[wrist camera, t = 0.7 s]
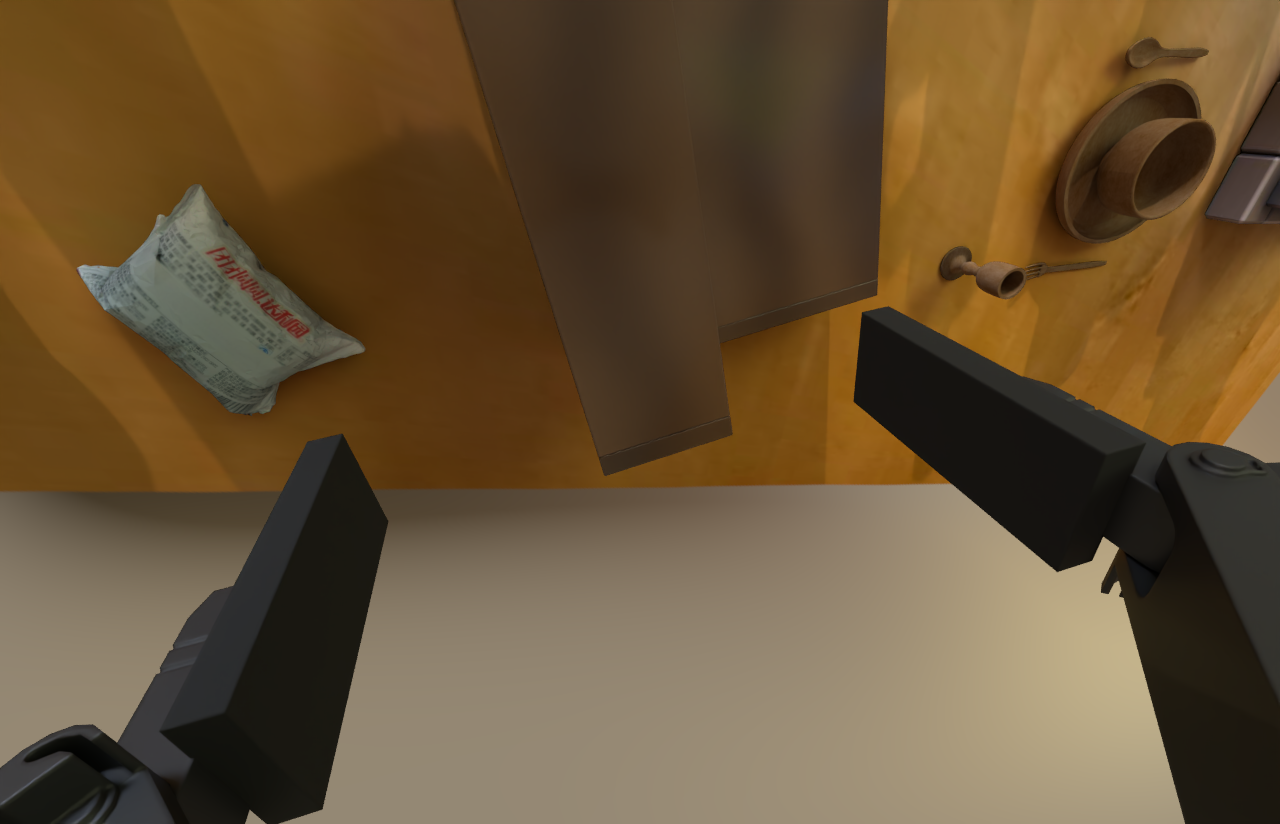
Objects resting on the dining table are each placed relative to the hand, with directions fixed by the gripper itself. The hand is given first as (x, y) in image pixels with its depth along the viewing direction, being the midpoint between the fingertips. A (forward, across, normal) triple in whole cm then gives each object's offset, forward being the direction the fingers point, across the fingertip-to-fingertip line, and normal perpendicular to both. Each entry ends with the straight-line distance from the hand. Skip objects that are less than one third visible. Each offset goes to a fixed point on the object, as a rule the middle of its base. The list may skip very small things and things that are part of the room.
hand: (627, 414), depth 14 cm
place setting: (+26, +42, -4) cm, 50 cm away
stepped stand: (+26, +10, +5) cm, 28 cm away
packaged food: (+26, -19, -2) cm, 33 cm away
